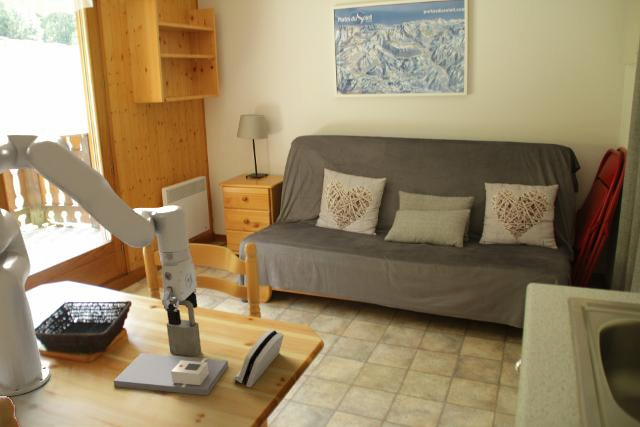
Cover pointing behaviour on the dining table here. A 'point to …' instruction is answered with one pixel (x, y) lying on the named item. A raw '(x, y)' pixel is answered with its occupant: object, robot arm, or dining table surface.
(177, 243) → the robot arm
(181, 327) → the padlock
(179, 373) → the white electronic device
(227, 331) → the dining table surface
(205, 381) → the board
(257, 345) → the grey zipper pouch
